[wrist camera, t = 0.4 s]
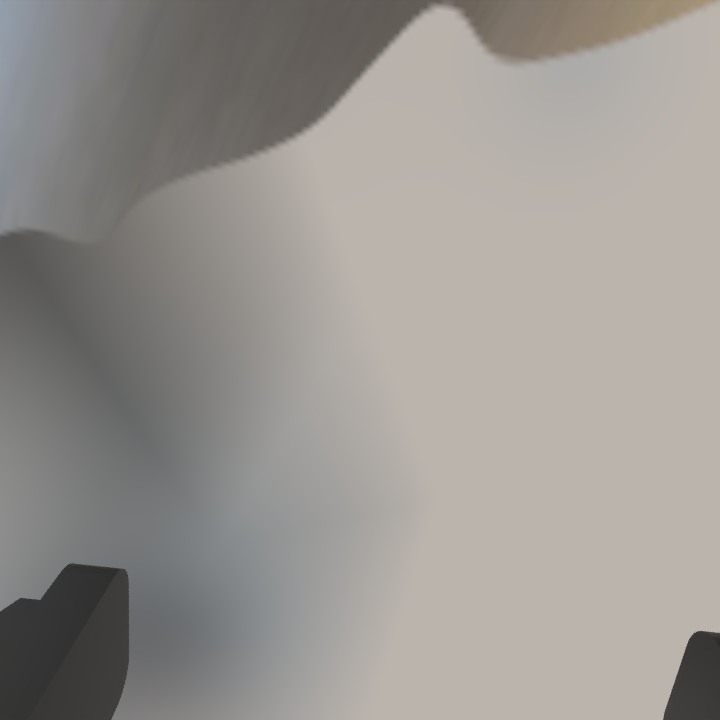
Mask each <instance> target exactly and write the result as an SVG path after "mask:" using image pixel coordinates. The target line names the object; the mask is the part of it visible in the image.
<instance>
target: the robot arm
mask: <svg viewBox="0 0 720 720" xmlns="http://www.w3.org/2000/svg"><path fill="white" fill-rule="evenodd" d="M128 585H129V583H128V575H127V572H126V570H125V569H119V568H110V567H100V566H91V565H82V564H69V565H67V566H66V567H65V568H64V569H63V570H62V571H61V573H60V574H59V575H58V577H57V578H56V579H55V581H54V582H53V583H52V585H51V586H50V588H49V589H48V590H47V592H46V593H45V594H44V596H43V597H42V598H41V600H35V599H25V598H20V599H19V600H17V601H15V602H14V603H13V604H11V605H9V606H8V607H7V608H5V609H3V610H2V611H1V612H0V720H111V719H112V716H113V714H114V712H115V710H116V708H117V705H118V703H119V700H120V698H121V694H122V691H123V688H124V684H125V680H126V675H127V669H128V662H129V591H128V590H129V586H128ZM663 720H720V633H715V632H705V631H698V632H696V633H694V634H693V635H692V636H691V638H690V639H689V641H688V644H687V647H686V650H685V653H684V656H683V659H682V662H681V665H680V668H679V671H678V674H677V677H676V680H675V683H674V686H673V689H672V692H671V695H670V698H669V701H668V704H667V707H666V710H665V713H664V719H663Z"/></svg>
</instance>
